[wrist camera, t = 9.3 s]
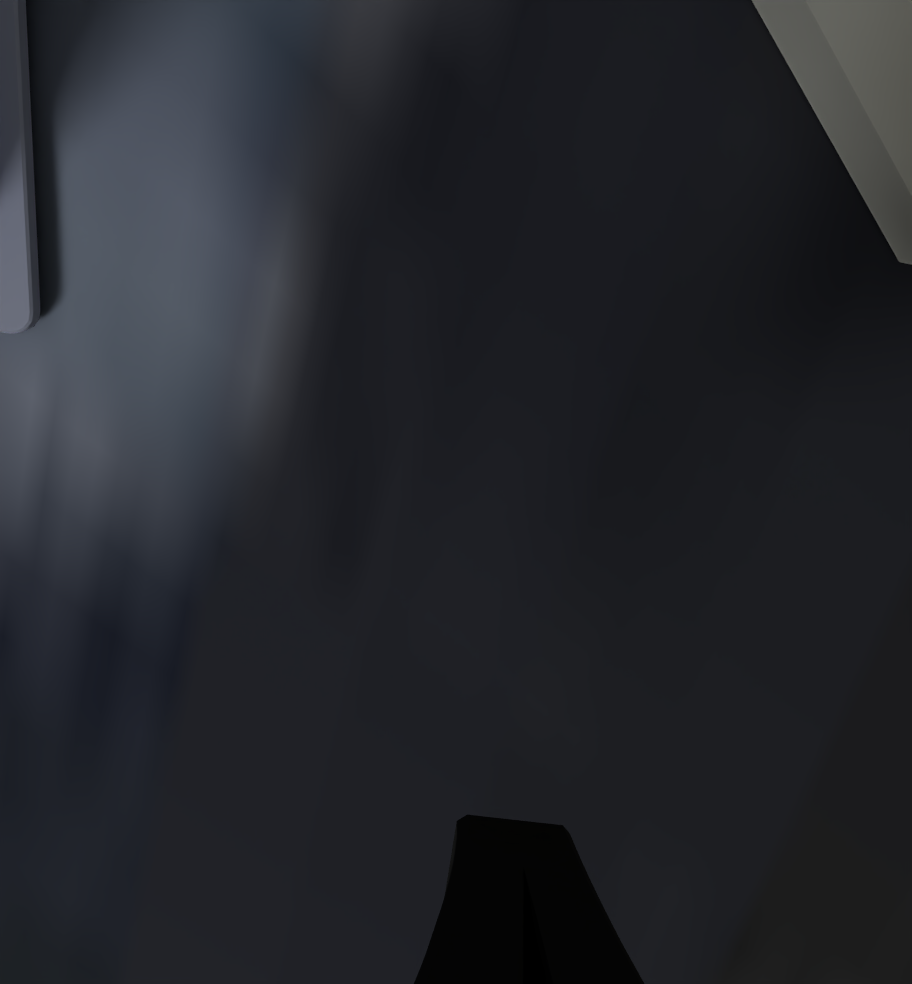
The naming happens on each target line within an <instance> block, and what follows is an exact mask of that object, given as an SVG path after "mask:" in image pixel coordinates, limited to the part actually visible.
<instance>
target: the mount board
mask: <svg viewBox="0 0 912 984" xmlns="http://www.w3.org/2000/svg"><path fill="white" fill-rule="evenodd" d="M752 2H753V3H754V5H755V7H756V9H757V10H758V12H759V14H760V16H761V18H762V19H763V21H764V23H765V25H766V26H767V28H768V30H769V32H770V34H771V35H772V37H773V39H774V41H775V42H776V44H777V46H778V48H779V50H780V51H781V53H782V55H783V57H784V58H785V60H786V62H787V64H788V66H789V67H790V69H791V71H792V73H793V74H794V76H795V78H796V80H797V81H798V83H799V85H800V87H801V89H802V90H803V92H804V94H805V96H806V97H807V99H808V101H809V103H810V105H811V106H812V108H813V110H814V112H815V113H816V115H817V117H818V119H819V121H820V122H821V124H822V126H823V128H824V129H825V131H826V133H827V135H828V137H829V138H830V140H831V142H832V144H833V145H834V147H835V149H836V151H837V153H838V154H839V156H840V158H841V160H842V161H843V163H844V165H845V167H846V169H847V170H848V172H849V174H850V176H851V177H852V179H853V181H854V183H855V185H856V186H857V188H858V190H859V192H860V193H861V195H862V197H863V199H864V201H865V202H866V204H867V206H868V208H869V209H870V211H871V213H872V215H873V216H874V218H875V220H876V222H877V224H878V225H879V227H880V229H881V231H882V232H883V234H884V236H885V238H886V240H887V241H888V243H889V245H890V247H891V248H892V250H893V252H894V254H895V256H896V257H897V259H898V261H899V262H901V263H907V264H912V0H752Z"/></svg>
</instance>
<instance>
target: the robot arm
mask: <svg viewBox="0 0 912 984" xmlns="http://www.w3.org/2000/svg"><path fill="white" fill-rule="evenodd" d="M39 316H40V290H39V269H38V248H37V227H36V206H35V185H34V164H33V143H32V122H31V101H30V80H29V59H28V38H27V17H26V0H0V332H2V333H20V332H23V331H26V330H28V329H30V328H32V327H34V326H35V324H36V323H37V321H38V320H39ZM414 984H644V982H643V981H642V979H641V977H640V975H639V973H638V972H637V970H636V968H635V966H634V964H633V963H632V961H631V959H630V957H629V955H628V954H627V952H626V950H625V948H624V946H623V944H622V943H621V941H620V939H619V937H618V935H617V933H616V931H615V929H614V927H613V925H612V923H611V921H610V919H609V917H608V915H607V913H606V911H605V909H604V907H603V905H602V903H601V901H600V899H599V897H598V895H597V893H596V891H595V889H594V887H593V885H592V883H591V881H590V879H589V876H588V874H587V872H586V870H585V868H584V866H583V863H582V861H581V859H580V857H579V854H578V852H577V850H576V847H575V845H574V843H573V840H572V838H571V835H570V834H569V832H568V831H567V830H566V829H565V827H564V826H563V825H555V824H546V823H537V822H528V821H519V820H510V819H501V818H492V817H483V816H474V815H466V816H464V817H463V818H461V819H459V820H458V821H457V824H456V830H455V836H454V842H453V848H452V855H451V861H450V867H449V873H448V880H447V886H446V892H445V897H444V901H443V904H442V907H441V910H440V913H439V916H438V919H437V922H436V925H435V928H434V931H433V934H432V937H431V940H430V943H429V946H428V949H427V952H426V955H425V957H424V960H423V963H422V965H421V968H420V970H419V973H418V975H417V978H416V980H415V982H414Z"/></svg>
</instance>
